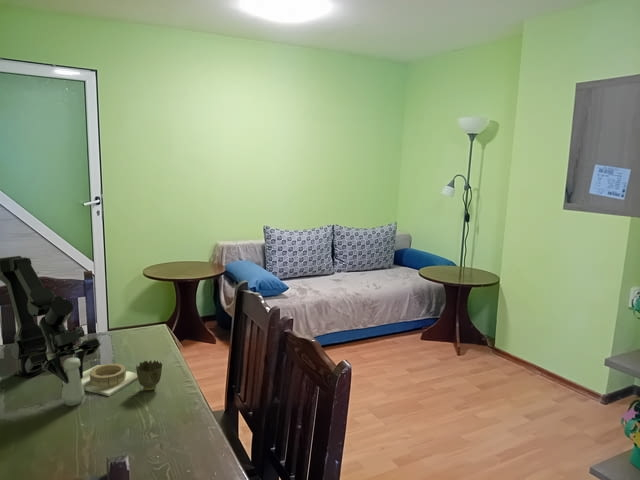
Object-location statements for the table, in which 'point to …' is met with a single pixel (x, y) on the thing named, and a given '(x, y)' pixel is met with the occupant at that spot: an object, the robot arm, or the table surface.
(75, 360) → the salt shaker
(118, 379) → the socket
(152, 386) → the cup
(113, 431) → the table surface
